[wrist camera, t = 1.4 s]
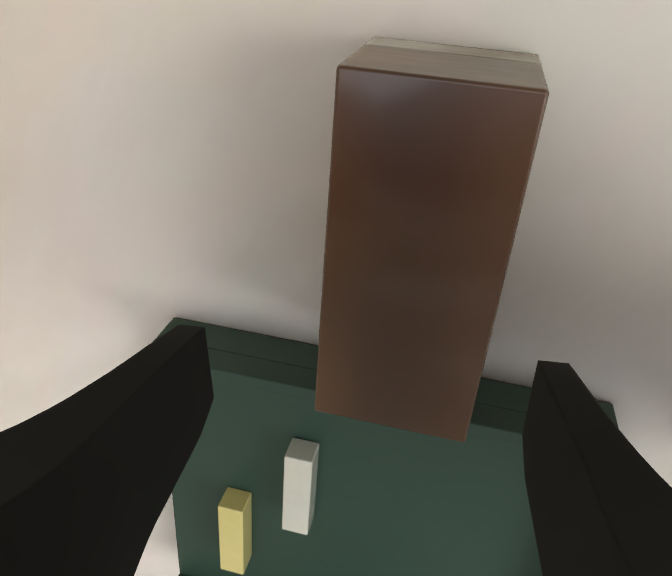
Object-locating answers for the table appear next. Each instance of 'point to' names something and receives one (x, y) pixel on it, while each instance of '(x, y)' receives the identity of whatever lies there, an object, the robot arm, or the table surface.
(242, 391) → the tray
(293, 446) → the white chalk
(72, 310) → the table surface
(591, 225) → the table surface
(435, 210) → the eraser
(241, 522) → the yellow chalk
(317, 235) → the table surface
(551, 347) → the table surface
